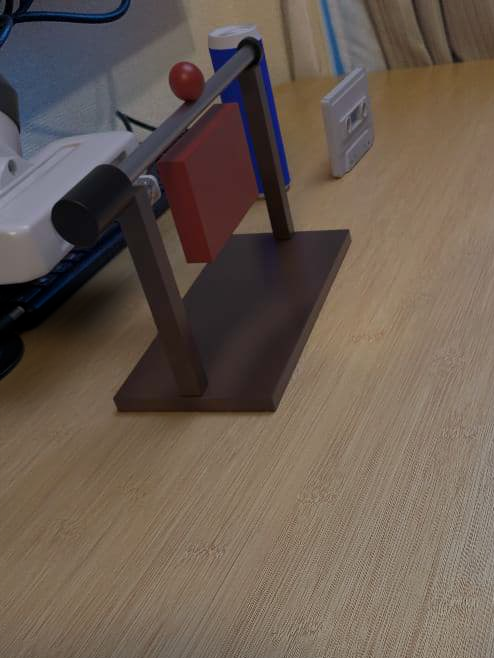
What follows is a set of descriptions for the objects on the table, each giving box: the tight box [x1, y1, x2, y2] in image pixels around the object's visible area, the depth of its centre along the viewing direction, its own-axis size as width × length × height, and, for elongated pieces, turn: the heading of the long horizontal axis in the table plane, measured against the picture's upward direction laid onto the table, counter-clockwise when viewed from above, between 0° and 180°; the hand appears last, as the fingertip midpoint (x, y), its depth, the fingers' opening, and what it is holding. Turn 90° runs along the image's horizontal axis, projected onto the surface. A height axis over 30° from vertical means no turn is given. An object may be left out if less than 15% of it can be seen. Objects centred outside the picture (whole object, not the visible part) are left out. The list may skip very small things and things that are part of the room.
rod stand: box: [112, 64, 352, 413], centre depth 63 cm, size 12×27×15 cm, turn 170°
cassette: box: [320, 66, 375, 178], centre depth 89 cm, size 12×2×8 cm, turn 162°
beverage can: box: [207, 22, 291, 199], centre depth 83 cm, size 5×5×15 cm
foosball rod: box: [51, 37, 263, 264], centre depth 57 cm, size 3×33×11 cm, turn 170°
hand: (152, 194), depth 62 cm, fingers closed
